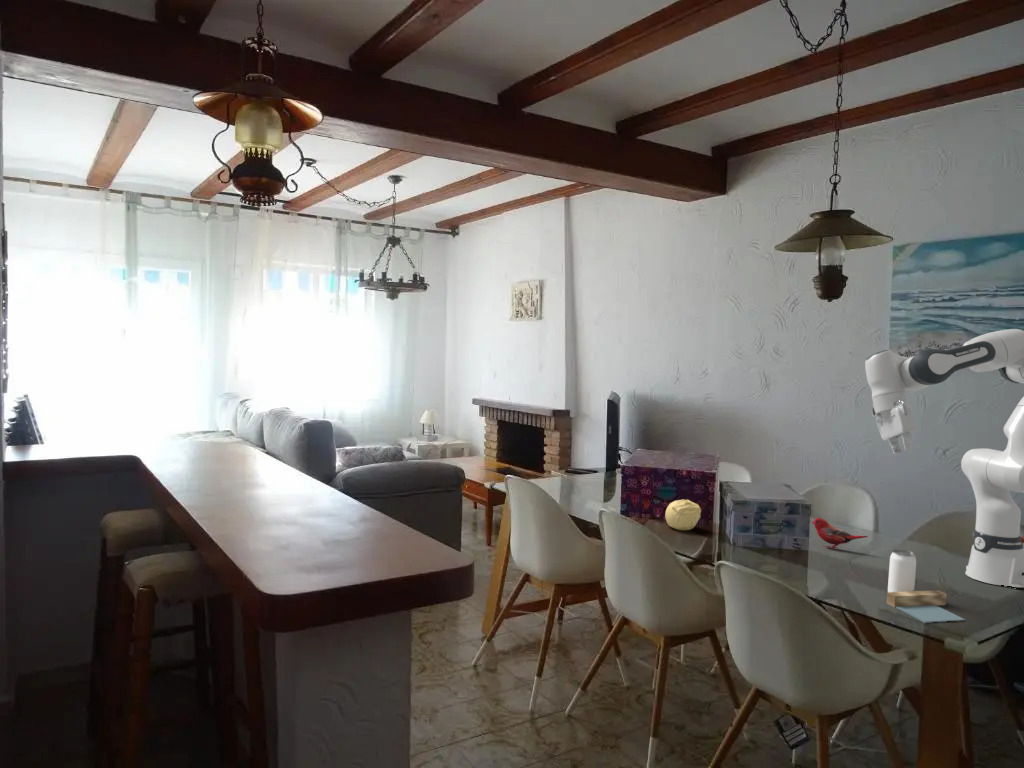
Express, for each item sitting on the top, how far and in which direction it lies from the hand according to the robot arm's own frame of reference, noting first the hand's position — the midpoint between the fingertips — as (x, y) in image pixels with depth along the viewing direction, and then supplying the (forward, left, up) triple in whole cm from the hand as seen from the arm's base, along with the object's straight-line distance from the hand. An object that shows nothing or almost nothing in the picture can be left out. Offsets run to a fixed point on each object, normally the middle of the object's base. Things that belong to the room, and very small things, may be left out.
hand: (902, 451), depth 207 cm
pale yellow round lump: (+37, -63, -39) cm, 83 cm away
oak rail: (+5, +15, -39) cm, 42 cm away
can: (+4, +8, -39) cm, 40 cm away
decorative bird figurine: (-6, -33, -39) cm, 52 cm away
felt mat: (+7, +22, -39) cm, 45 cm away
